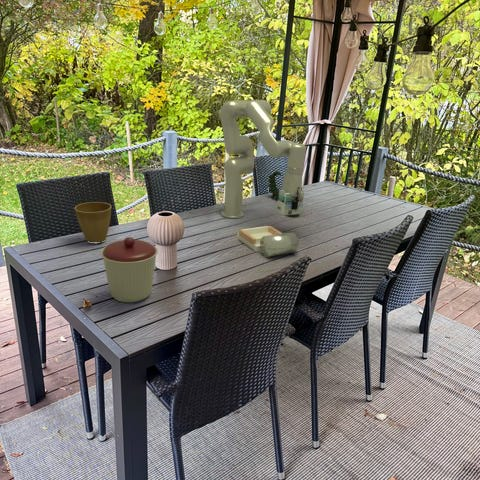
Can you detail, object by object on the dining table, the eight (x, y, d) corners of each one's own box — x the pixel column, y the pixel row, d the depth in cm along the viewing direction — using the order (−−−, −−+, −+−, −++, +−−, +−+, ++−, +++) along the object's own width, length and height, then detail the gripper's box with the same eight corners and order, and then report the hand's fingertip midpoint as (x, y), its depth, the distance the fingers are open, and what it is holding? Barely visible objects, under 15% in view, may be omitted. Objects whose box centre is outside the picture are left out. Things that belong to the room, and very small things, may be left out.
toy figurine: (265, 201, 267) (298, 207, 252) (265, 171, 261) (299, 175, 246) (273, 198, 274) (307, 204, 258) (274, 169, 268) (308, 173, 252)
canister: (92, 301, 139) (87, 241, 131) (124, 278, 155) (122, 224, 147) (139, 314, 133) (137, 253, 125) (167, 289, 149) (167, 234, 141)
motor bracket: (235, 237, 200) (237, 219, 197) (267, 233, 208) (268, 216, 205) (267, 260, 177) (269, 241, 174) (300, 254, 186) (303, 235, 182)
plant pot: (103, 232, 196) (101, 199, 190) (119, 242, 186) (117, 208, 180) (71, 239, 186) (68, 205, 180) (87, 250, 176) (84, 214, 170)
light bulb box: (283, 215, 199) (286, 193, 195) (275, 211, 205) (278, 189, 201) (301, 213, 204) (305, 192, 200) (294, 209, 210) (296, 188, 206)
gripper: (277, 166, 202) (273, 202, 209) (298, 175, 188) (293, 213, 195) (290, 165, 205) (285, 200, 212) (312, 174, 191) (306, 212, 198)
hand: (289, 206), depth 203 cm, fingers closed on light bulb box, 6 cm apart
